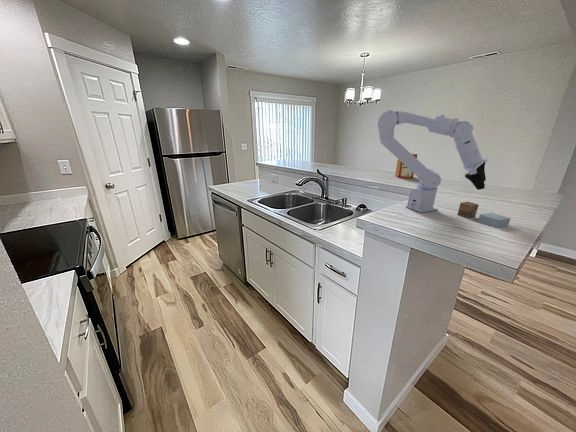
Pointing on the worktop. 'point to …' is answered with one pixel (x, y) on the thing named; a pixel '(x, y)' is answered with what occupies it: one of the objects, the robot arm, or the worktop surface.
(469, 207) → the walnut block
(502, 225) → the slate slab
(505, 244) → the worktop surface
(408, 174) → the baking soda box
